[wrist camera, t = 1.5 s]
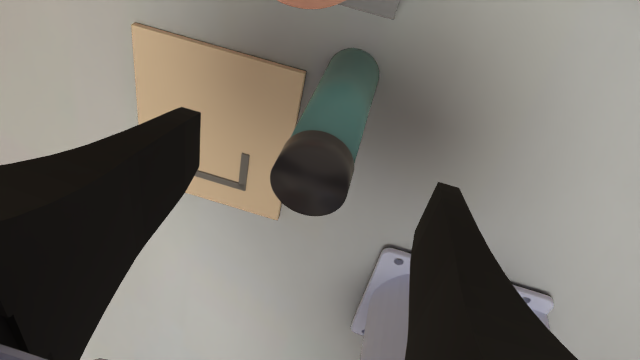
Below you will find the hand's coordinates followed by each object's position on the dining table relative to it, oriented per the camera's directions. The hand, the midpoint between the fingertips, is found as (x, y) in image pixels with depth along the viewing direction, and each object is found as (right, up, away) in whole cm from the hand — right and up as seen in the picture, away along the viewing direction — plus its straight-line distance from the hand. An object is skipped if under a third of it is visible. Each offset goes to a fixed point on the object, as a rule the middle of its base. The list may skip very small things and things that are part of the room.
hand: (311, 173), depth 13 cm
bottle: (+2, +4, +6) cm, 8 cm away
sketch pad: (-5, +2, +9) cm, 11 cm away
